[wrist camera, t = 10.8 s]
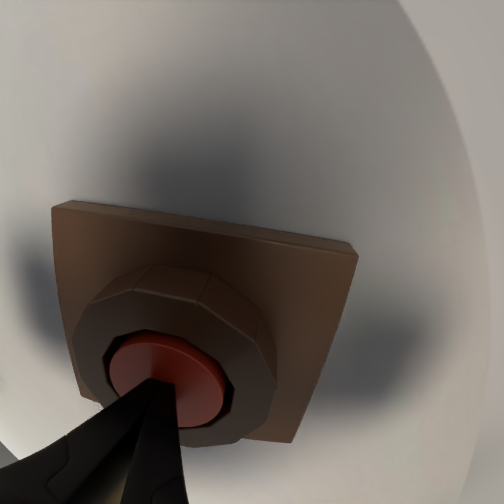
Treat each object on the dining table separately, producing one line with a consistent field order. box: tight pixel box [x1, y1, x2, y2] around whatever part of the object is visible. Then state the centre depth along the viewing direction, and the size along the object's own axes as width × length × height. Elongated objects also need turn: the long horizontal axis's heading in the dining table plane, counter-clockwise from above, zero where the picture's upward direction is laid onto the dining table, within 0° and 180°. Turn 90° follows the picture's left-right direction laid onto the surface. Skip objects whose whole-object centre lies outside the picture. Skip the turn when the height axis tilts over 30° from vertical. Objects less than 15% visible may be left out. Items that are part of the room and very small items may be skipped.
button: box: [110, 329, 228, 427], centre depth 9 cm, size 4×4×2 cm
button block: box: [51, 201, 359, 448], centre depth 10 cm, size 10×9×3 cm
